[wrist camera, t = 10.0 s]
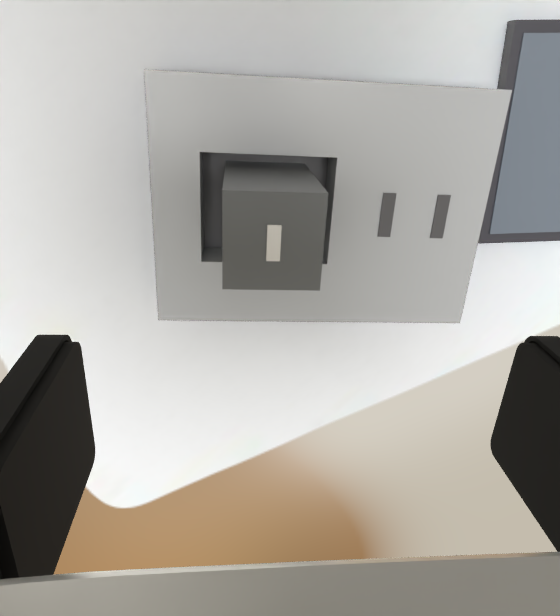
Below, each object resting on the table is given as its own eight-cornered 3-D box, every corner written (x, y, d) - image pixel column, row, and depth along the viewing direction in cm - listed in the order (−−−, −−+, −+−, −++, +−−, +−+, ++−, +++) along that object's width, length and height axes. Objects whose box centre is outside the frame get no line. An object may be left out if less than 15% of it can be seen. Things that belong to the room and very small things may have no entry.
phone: (504, 22, 27) (516, 19, 26) (611, 21, 27) (628, 19, 26) (471, 237, 32) (480, 243, 31) (561, 234, 32) (573, 240, 31)
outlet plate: (153, 70, 26) (143, 69, 23) (485, 88, 28) (513, 90, 25) (164, 299, 31) (158, 320, 28) (441, 303, 33) (460, 324, 30)
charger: (225, 160, 28) (222, 190, 20) (304, 163, 28) (328, 193, 21) (225, 237, 29) (222, 290, 22) (299, 239, 30) (320, 291, 23)
